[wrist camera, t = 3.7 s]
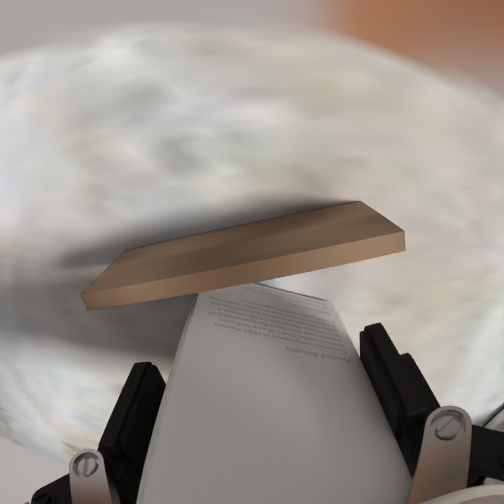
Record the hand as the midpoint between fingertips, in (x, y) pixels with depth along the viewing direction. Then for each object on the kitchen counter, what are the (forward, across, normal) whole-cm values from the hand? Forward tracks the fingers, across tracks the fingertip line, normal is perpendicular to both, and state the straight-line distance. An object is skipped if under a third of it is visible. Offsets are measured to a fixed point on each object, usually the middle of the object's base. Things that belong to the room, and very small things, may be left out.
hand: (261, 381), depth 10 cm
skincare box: (+4, 0, 0) cm, 4 cm away
